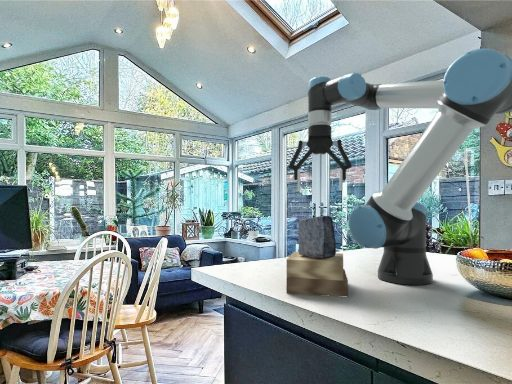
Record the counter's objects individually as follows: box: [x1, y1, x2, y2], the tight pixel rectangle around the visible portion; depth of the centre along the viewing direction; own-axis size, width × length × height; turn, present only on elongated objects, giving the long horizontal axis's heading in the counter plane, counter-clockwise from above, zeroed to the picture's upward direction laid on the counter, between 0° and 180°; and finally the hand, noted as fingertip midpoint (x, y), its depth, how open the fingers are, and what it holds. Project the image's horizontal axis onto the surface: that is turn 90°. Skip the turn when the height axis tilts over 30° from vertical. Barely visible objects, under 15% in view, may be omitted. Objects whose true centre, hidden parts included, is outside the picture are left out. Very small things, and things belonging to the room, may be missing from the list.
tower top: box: [286, 251, 344, 281], centre depth 93 cm, size 14×14×4 cm
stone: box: [297, 215, 337, 259], centre depth 94 cm, size 12×10×10 cm
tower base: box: [285, 268, 349, 297], centre depth 93 cm, size 15×15×4 cm
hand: (319, 190), depth 114 cm, fingers open, 13 cm apart
